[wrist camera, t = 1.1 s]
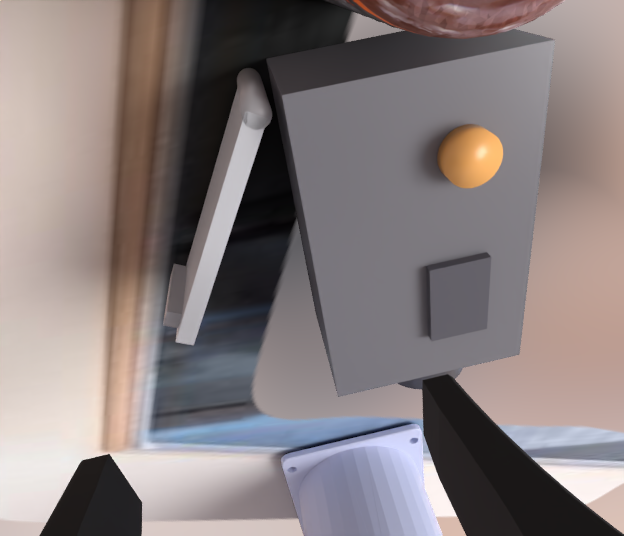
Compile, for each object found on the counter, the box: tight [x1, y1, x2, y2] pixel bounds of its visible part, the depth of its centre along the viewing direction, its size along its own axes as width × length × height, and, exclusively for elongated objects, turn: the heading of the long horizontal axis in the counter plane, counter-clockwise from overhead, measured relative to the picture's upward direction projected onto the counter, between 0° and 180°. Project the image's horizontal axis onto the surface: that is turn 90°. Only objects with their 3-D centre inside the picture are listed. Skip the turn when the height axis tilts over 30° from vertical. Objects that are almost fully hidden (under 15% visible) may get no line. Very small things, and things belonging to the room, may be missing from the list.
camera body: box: [266, 29, 555, 397], centre depth 17 cm, size 13×7×6 cm, turn 9°
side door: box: [163, 68, 272, 345], centre depth 16 cm, size 8×1×4 cm, turn 159°
